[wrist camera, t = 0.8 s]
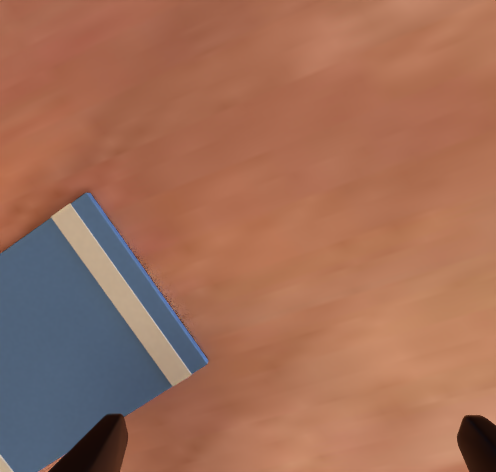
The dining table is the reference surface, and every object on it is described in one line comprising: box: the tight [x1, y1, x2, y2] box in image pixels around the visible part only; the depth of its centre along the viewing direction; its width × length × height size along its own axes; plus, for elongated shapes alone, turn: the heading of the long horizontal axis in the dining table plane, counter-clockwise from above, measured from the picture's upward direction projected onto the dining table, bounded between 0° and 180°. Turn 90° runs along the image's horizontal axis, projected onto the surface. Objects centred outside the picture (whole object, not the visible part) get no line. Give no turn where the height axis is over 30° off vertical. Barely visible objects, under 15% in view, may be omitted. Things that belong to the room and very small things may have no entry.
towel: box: [0, 193, 208, 472], centre depth 24 cm, size 22×16×1 cm
